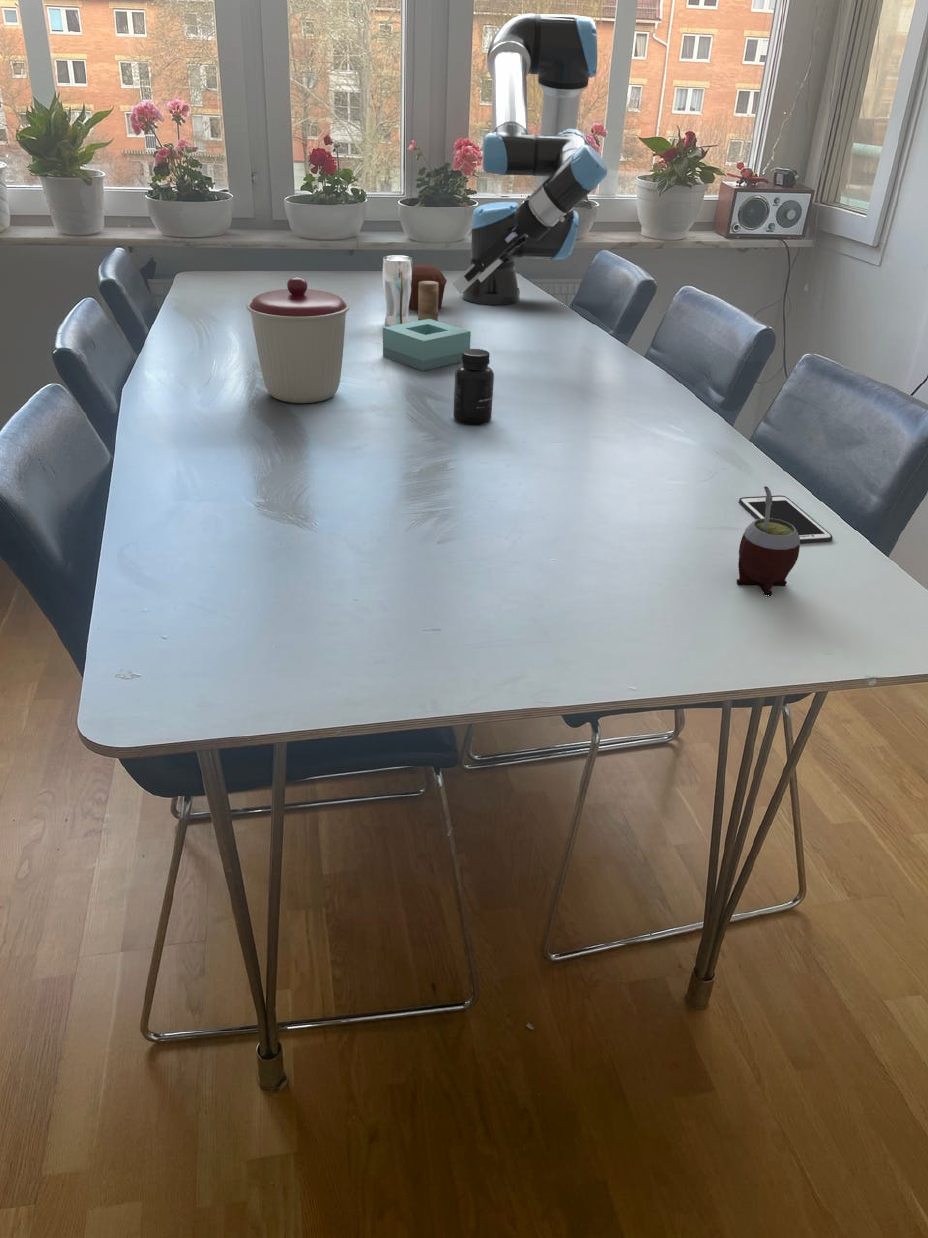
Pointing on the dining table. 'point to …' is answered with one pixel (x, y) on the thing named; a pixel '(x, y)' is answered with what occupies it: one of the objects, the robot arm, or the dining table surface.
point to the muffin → (426, 274)
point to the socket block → (425, 343)
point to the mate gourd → (767, 551)
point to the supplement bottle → (473, 388)
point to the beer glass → (397, 288)
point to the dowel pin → (428, 300)
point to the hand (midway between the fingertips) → (467, 282)
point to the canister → (299, 341)
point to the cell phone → (788, 517)
